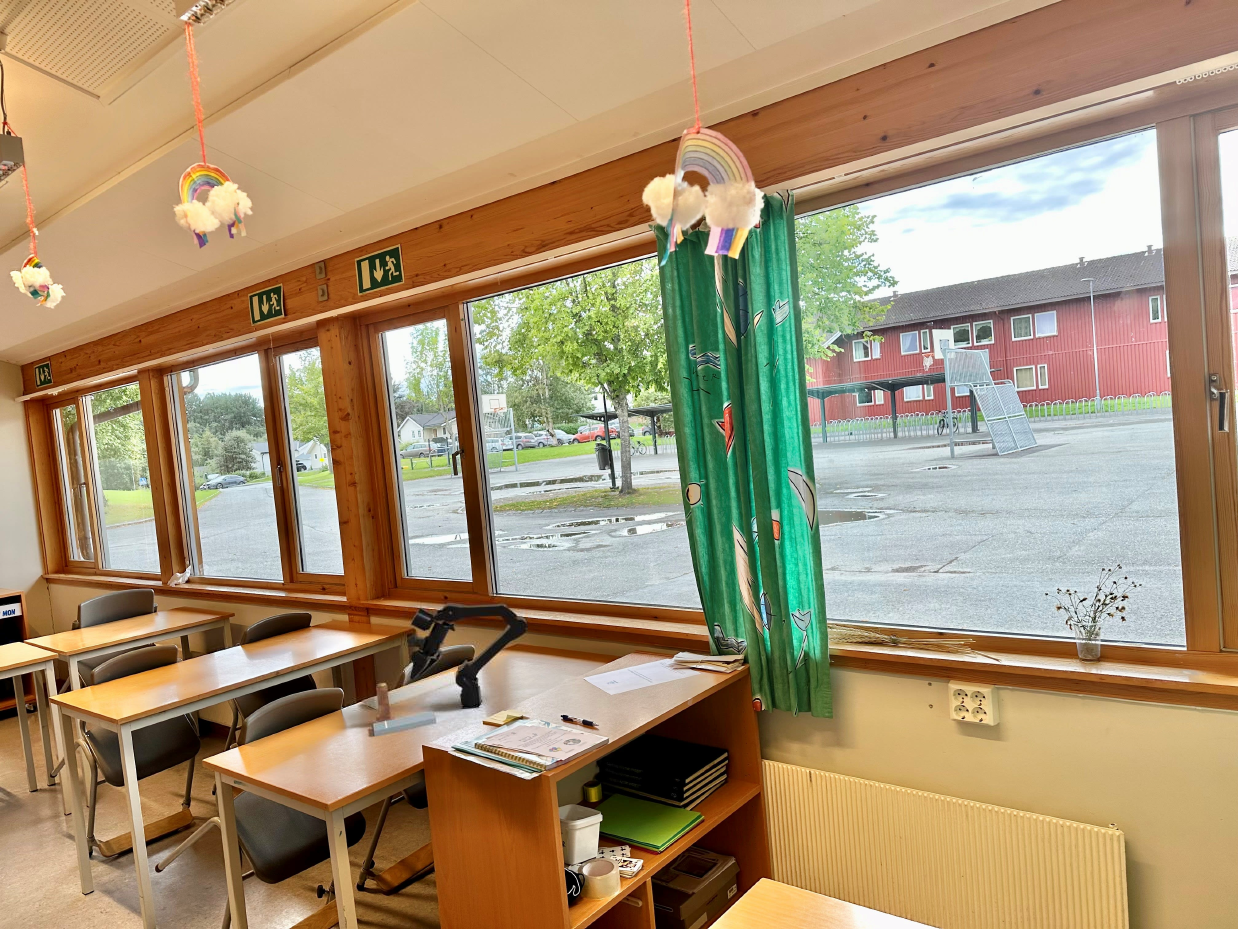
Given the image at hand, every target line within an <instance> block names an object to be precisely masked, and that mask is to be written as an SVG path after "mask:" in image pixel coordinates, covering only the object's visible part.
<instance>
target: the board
mask: <svg viewBox="0 0 1238 929" xmlns="http://www.w3.org/2000/svg"><path fill="white" fill-rule="evenodd" d="M435 724H437V718H436V715H435V713H434V710H431V711H427V712H426V711H425V712H422V713H417V714H411V715H406V716H403V717H397V718H395V719H392V720H387V721H382V722H378V723H376V722H375V723H372V725H373V732H374V737H377V736H378V737H379V736H381V735H387V734H392V733H397V732H401V731H406V730H410V729H416V728H419V727H420V728H421V727H425V726H429V725H435Z"/></svg>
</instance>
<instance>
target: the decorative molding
mask: <svg viewBox="0 0 1238 929" xmlns="http://www.w3.org/2000/svg"><path fill="white" fill-rule="evenodd" d="M455 679H456V674H455V672H454V671H451V672H447V673H443V674H439V675H437V676H433V677H431V678H427V679H425V680H421V681H418V682H415V683H412V684H409V685H406V686H402V687H400V688H397V689H393V690H391V691H388V699H389V705H390V706H392V705H391V704H393V705H395V704H397V703H396V702H398V703H401V702H404V701H407V700H409V698H410V699H412V697H413V698H416V697H419V696H421V695H424V694H427V693H430V692H433V691H436V690H439V689H442V688H445V687H448V686H451V685H454V684H456V681H455ZM406 699H407V700H406ZM403 700H404V701H403ZM400 701H401V702H400ZM362 703H364V704H363V706H364V705H365V706H366V705H367V706H370V707H369V708H372V709H373V708H374V709H373V710H375V709H378V710H379V708H378V699H377V695H375V696H372V697H369V698H367V699H363V700H362ZM394 703H395V704H394ZM367 706H366V707H367Z"/></svg>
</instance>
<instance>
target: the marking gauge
mask: <svg viewBox="0 0 1238 929" xmlns="http://www.w3.org/2000/svg"><path fill="white" fill-rule="evenodd" d="M375 689H376V696H377V699H378V708H379V709H378V716H377V717H375V723H378V722H382V721H387V720H392V719H396V718H395V715H394V713H391V711H390V710H391V709H390V706H389V699H388V692H389V691H388V685H387V683H385V682H381V683H377V685H376V686H375Z"/></svg>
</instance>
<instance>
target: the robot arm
mask: <svg viewBox="0 0 1238 929" xmlns="http://www.w3.org/2000/svg"><path fill="white" fill-rule="evenodd" d="M481 617H483V618H484V617H500V618H501V619H503V621H505V623H507V626H506V627H505V629H504V630H503V631H502V633H501V634H500V635H498V637H497V638H496V639H494V641H493V642H491V643H490V644H489V645H488V646H487V647H486V648H485V649H484V650H483V651H482V652H480V654H479V655H477V656H476V657H475V658H474V659H473V660H471V661H468V660H467V659H465V660H464V662H463V663H462V664H461V665H459V666H457V671H456V672H455V681H456V683H455V684H456V686H458V687H460V688H461V693H460V694H459V696H460V697H459V698H460V705H461V709H462V710H463V709H465V710H466V709H473V708H480V707H481V706H480V705H482V704H481V703H483V702H484V700H483V699H482V693H481V692H482V690H481V686H480V685H479V678H478V677H477V676H478V674H479V672H480V671H481V670H482V669H483V667H485V666H486V665H487V664H488V663H489V662H490V661H491V660H492V659H493V658H495V656H497V655H498V654H499V653H500V652H501V651H502V650H504V648H505V647H507V645H509V643H511V642H513V641H515V640H517V639H518V638H520V637H522V636H523V635H525V634H526V632H528V624H527V621H526V618H524V617H523V616H520V615H517V614H516V613H515V612H514V611H513V610H512V609H511V608H510V607H508V606H507V604H505V603H498V604H497V603H496V604H494V603H493V604H476V605H475V604H473V605H466V604H461V603H455V602H447V603H445V604H444V605H442V608H440V609H439V610H437V611H435V612H433V613H432V612H430V611H428V610H426V609H425V608H424V607H419V608H418V610H417V612H416V614H415V615H414V617H413V619H412V620H411V622H410V626H413V627H414V628H417V629H419V630H421V631H423V632H426V631H429V633H428V635H426V636H425V637H423V636H421V637H420V636H417V635H411V636H409V637H408V638H407V640H406V643H407V647H409V648H410V647H413V648H418V650H415V651H412V652H411V654H410V655H409V659H410V660H411V662H412V667H411V671H410V676H409V679H411V680H414V679H415V678H416V677H417V676H418V675H419V676H422V675H424V674H425V673H426V672H427V671H428V670H429V669H430V668H432V667H433V666H434V665H435V664H436V663H438V662H439V660H441V658H442V656H443V654H444V653H443V651H442V649H440V648H441V647H442V646H443V645H444V643H445V642H444V641H445V639H446V637H447V635H448V633H449V631H453V632H456V626H455V622H456V621H460V620H463V619H467V618H481ZM433 623H434V624H433ZM430 629H431V630H430ZM482 701H483V702H482ZM479 706H480V707H479Z"/></svg>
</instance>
